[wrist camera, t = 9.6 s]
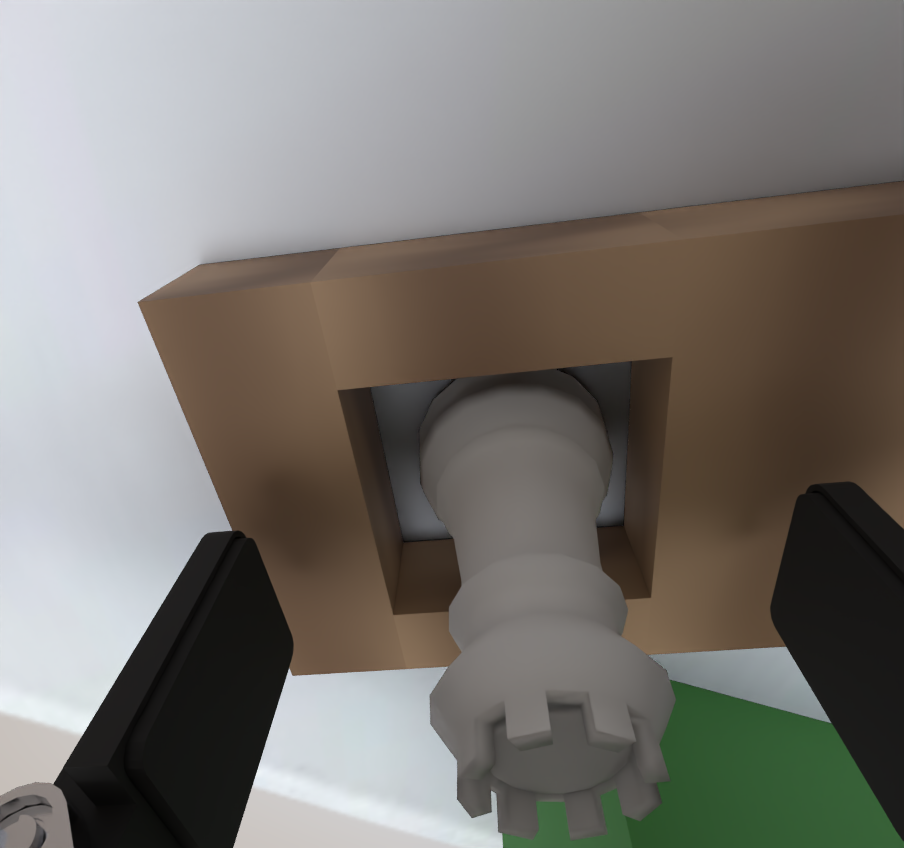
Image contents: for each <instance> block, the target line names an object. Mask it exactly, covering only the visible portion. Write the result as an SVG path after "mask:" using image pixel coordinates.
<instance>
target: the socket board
mask: <svg viewBox="0 0 904 848" xmlns="http://www.w3.org/2000/svg"><path fill="white" fill-rule="evenodd" d="M138 304H139V307H140V309H141V311H142V314H143V316H144V319H145V321H146V324H147V326H148V328H149V331H150V333H151V336H152V338H153V340H154V343H155V345H156V348H157V350H158V352H159V355H160V357H161V360H162V362H163V364H164V367H165V369H166V372H167V374H168V377H169V379H170V381H171V384H172V386H173V389H174V391H175V393H176V396H177V398H178V401H179V403H180V405H181V408H182V410H183V413H184V415H185V417H186V420H187V422H188V425H189V427H190V430H191V432H192V434H193V437H194V439H195V442H196V444H197V446H198V449H199V451H200V454H201V456H202V458H203V461H204V463H205V466H206V468H207V470H208V473H209V475H210V478H211V480H212V483H213V485H214V487H215V490H216V492H217V495H218V497H219V499H220V502H221V504H222V507H223V509H224V511H225V514H226V516H227V519H228V521H229V523H230V526H231V528H232V531H237V530H238V531H242V532H243V533H244V534H245V536H246V538H252V539H254V541H255V543H256V545H257V547H258V550H259V552H260V555H261V557H262V560H263V563H264V565H265V568H266V570H267V573H268V575H269V578H270V580H271V583H272V585H273V588H274V591H275V593H276V596H277V598H278V601H279V603H280V606H281V608H282V611H283V613H284V616H285V619H286V621H287V624H288V626H289V629H290V631H291V634H292V637H293V643H294V650H293V656H292V660H291V663H290V666H289V668H290V670H291V673H292V675H293V676H296V675H313V674H330V673H347V672H364V671H381V670H397V669H414V668H431V667H448V666H450V665H451V664H452V662H453V661H454V660H455V659H456V658H457V657H458V656H459V655H460V654H461V653H462V652H461V650H460V649H459V647H458V645H457V644H456V642H455V640H454V639H453V637H452V635H451V634H450V632H449V606H450V605H451V603H452V601H453V600H454V598H455V596H456V595H457V593H458V591H459V590H460V588H461V586H462V581H461V576H460V570H459V565H458V559H457V553H456V548H455V542H454V539H444V540H431V541H418V542H405V543H403V539H402V534H401V529H400V525H399V520H398V515H397V511H396V506H395V501H394V497H393V492H392V487H391V483H390V478H389V473H388V469H387V464H386V460H385V455H384V450H383V446H382V441H381V436H380V432H379V427H378V422H377V418H376V413H375V408H374V404H373V399H372V394H371V390H370V387H375V386H385V385H395V384H406V383H416V382H426V381H436V380H446V379H456V378H466V377H476V376H486V375H496V374H506V373H516V372H527V371H537V370H547V369H557V368H567V367H577V366H587V365H597V364H607V363H617V362H627V361H632V368H631V388H630V408H629V428H628V449H627V469H626V489H625V509H624V526H614V527H601V528H597V537H598V546H599V555H600V564H601V567H602V570H603V572H604V573H605V574H606V575H608V576H609V577H610V578H611V579H612V580H613V581H614V582H616V583H617V584H618V585H619V586H620V588H621V591H622V594H623V596H624V599H625V602H626V605H627V607H628V613H627V618H626V622H625V626H624V630H623V634H622V635H621V637H623V638H625V639H626V640H628V641H629V642H631V643H632V644H634V645H635V646H637V647H638V648H639V649H641V650H642V651H643V652H644V653H645V654H647V655H651V654H668V653H685V652H702V651H719V650H736V649H753V648H770V647H786V645H785V644H784V642H783V640H782V639H781V637H780V635H779V634H778V632H777V630H776V628H775V626H774V624H773V621H772V618H771V614H770V605H771V600H772V596H773V592H774V588H775V584H776V580H777V576H778V572H779V568H780V564H781V560H782V556H783V551H784V547H785V543H786V539H787V535H788V531H789V527H790V523H791V519H792V515H793V511H794V507H795V503H796V500H797V497H798V496H799V495H800V494H805V493H806V491H807V488H808V487H809V486H810V485H813V484H821V483H833V482H846V481H850V482H854V483H855V484H857V485H858V486H860V487H861V488H862V489H863V490H864V491H865V492H866V493H867V494H868V495H869V496H870V497H871V498H872V499H873V500H874V501H875V502H876V503H877V504H878V505H879V506H880V507H881V508H882V509H883V510H884V511H885V512H887V513H888V514H889V515H890V516H891V517H892V518H893V519H894V520H895V521H896V522H897V523H898V524H899V525H900V526H901V527H902V528H903V529H904V181H899V182H891V183H883V184H874V185H866V186H857V187H849V188H841V189H832V190H824V191H816V192H807V193H799V194H790V195H782V196H774V197H765V198H757V199H748V200H740V201H732V202H723V203H715V204H706V205H698V206H690V207H681V208H673V209H664V210H656V211H648V212H639V213H631V214H623V215H614V216H606V217H597V218H589V219H581V220H572V221H564V222H555V223H547V224H539V225H530V226H522V227H513V228H505V229H497V230H488V231H480V232H472V233H463V234H455V235H446V236H438V237H430V238H421V239H413V240H404V241H396V242H388V243H379V244H371V245H362V246H354V247H346V248H337V249H329V250H320V251H312V252H304V253H295V254H287V255H279V256H270V257H262V258H253V259H245V260H237V261H228V262H220V263H211V264H203V265H198V266H197V267H195V268H193V269H192V270H190V271H188V272H187V273H185V274H184V275H182V276H180V277H179V278H177V279H175V280H174V281H172V282H170V283H169V284H167V285H165V286H164V287H162V288H160V289H159V290H157V291H155V292H154V293H152V294H150V295H149V296H147V297H145V298H144V299H142V300H140V301H139V302H138Z"/></svg>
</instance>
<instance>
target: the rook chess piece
mask: <svg viewBox="0 0 904 848" xmlns="http://www.w3.org/2000/svg"><path fill="white" fill-rule="evenodd" d="M419 450H420V451H419V456H420V483H421V486H422V489H423V491H424V494H425V495H426V497H427V499H428V501H429V503H430V505H431V507H432V508H433V510H434V512H435V514H436V516H437V518H438V519H439V520H440V521H442V522H443V523H444V525H445V527H446V529H447V531H448V533H449V534H450V535H451V536H452V537H454V542H455V548H456V553H457V559H458V565H459V570H460V576H461V581H462V586H461V588H460V590H459V591H458V593H457V595H456V596H455V598H454V600H453V601H452V603H451V605H450V606H449V632H450V634H451V635H452V637H453V639H454V640H455V642H456V644H457V645H458V647H459V649H460V650H461V652H462V653H461V654H460V655H459V656H458V657H457V658H456V659H455V660H454V661H453V662H452V664H451V665H450V666H449V667H448V668H447V670H446V671H445V673H444V674H443V676H442V677H441V679H440V680H439V682H438V684H437V685H436V687H435V688H434V690H433V691H432V693H431V694H430V724H431V725H432V727H433V728H434V730H435V731H436V732H437V734H438V735H439V736H440V738H441V739H442V741H443V742H444V743H445V745H446V746H447V748H448V749H449V750H450V752H451V753H452V754H453V756H454V757H455V758H456V760H457V800H458V801H459V802H460V803H461V805H462V806H463V807H464V809H465V810H466V811H467V812H468V814H469V815H470V816H471V818H474V817H477V816H481V815H484V814H487V813H490V812H492V809H491V791H493V792H495V793H496V794H497V814H498V832H500V833H504V834H508V835H513V836H517V837H522V838H526V839H531V840H533V839H534V837H535V835H536V834H537V832H538V830H539V826H538V816H537V807H536V801H540V802H565V808H566V815H567V822H568V828H569V834H570V840H571V841H572V840H578V839H584V838H589V837H595V836H601V835H607V834H608V833H607V828H606V822H605V817H604V812H603V807H602V802H601V797H600V795H602V794H605V793H607V792H609V791H611V790H614V789H616V788H617V792H618V796H619V801H620V805H621V809H622V814H623V815H625V816H628V817H630V818H633V819H635V820H638V821H641V820H642V819H643V818H645V817H646V816H647V815H648V814H650V813H651V812H652V811H653V810H654V809H656V808H657V807H658V806H659V805H660V804H662V800H661V797H660V793H659V790H658V786H657V783H656V782H668V781H670V778H669V774H668V771H667V768H666V765H665V761H664V758H663V755H662V752H661V748H660V745H659V744H660V741H661V739H662V737H663V734H664V732H665V730H666V727H667V724H668V722H669V719H670V716H671V713H672V710H673V707H674V704H675V701H676V698H675V695H674V692H673V689H672V686H671V683H670V680H669V677H668V674H667V671H666V670H665V669H664V668H663V667H662V666H660V665H659V664H658V663H657V662H655V661H654V660H653V659H652V658H650V657H649V656H648V655H647V654H645V653H644V652H643V651H642V650H641V649H639V648H638V647H637V646H635V645H634V644H632V643H631V642H629V641H628V640H626V639H625V638H623V637H621V635H622V634H623V630H624V626H625V622H626V618H627V613H628V607H627V605H626V602H625V599H624V596H623V594H622V591H621V588H620V586H619V585H618V584H617V583H616V582H614V581H613V580H612V579H611V578H610V577H609V576H608V575H606V574H605V573H604V572H603V570H602V567H601V564H600V555H599V546H598V537H597V528H596V518H597V517H598V515H599V514H600V510H601V504H602V501H603V500H604V498H605V497H606V496H607V492H608V486H609V481H610V476H611V470H612V464H613V452H612V448H611V445H610V442H609V439H608V436H607V430H606V427H605V424H604V420H603V417H602V414H601V411H600V408H599V404H598V402H597V401H596V400H595V399H594V398H593V397H592V395H591V394H590V393H589V392H588V391H587V390H586V389H585V388H584V387H583V386H582V385H581V384H580V383H579V382H578V381H577V380H576V379H575V378H574V377H573V376H570V375H568V374H565V373H563V372H560V371H558V370H555V369H547V370H537V371H527V372H516V373H506V374H496V375H486V376H476V377H466V378H457V379H456V380H455V381H454V382H453V383H451V384H450V385H449V386H448V387H447V388H446V389H445V390H444V391H442V392H441V393H440V394H439V395H438V396H437V397H436V398H435V399H433V401H432V403H431V405H430V407H429V409H428V412H427V414H426V416H425V418H424V420H423V423H422V425H421V427H420V429H419Z"/></svg>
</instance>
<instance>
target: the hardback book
mask: <svg viewBox="0 0 904 848" xmlns="http://www.w3.org/2000/svg"><path fill="white" fill-rule="evenodd" d="M670 683H671V686H672V689H673V692H674V695H675V698H676V701H675V704H674V707H673V710H672V713H671V716H670V719H669V722H668V724H667V727H666V730H665V732H664V734H663V737H662V739H661V741H660V744H659V745H660V748H661V752H662V755H663V758H664V761H665V765H666V768H667V771H668V774H669V778H670V781H668V782H656V783H657V786H658V790H659V793H660V797H661V800H662V804H660V805H659V806H658V807H657V808H656V809H654V810H653V811H652V812H651V813H650V814H648V815H647V816H646V817H645V818H643V819H642V820H641V821H638V820H635V819H633V818H630V817H628V816H625V815H623V814H622V809H621V805H620V801H619V796H618V792H617V788H616V789H614V790H611V791H609V792H607V793H605V794H602V795H600V797H601V802H602V807H603V812H604V817H605V822H606V828H607V833H608V834H607V835H601V836H595V837H589V838H584V839H578V840H572V841H571V840H570V834H569V828H568V822H567V815H566V808H565V802H540V801H536V807H537V816H538V826H539V830H538V832H537V834H536V835H535V837H534V839H533V840H531V839H526V838H522V837H517V836H513V835H508V834H504V833H502V835H503V848H904V841H903V840H902V839H901V838H900V836H899V835H898V833H897V832H896V830H895V829H894V827H893V825H892V823H891V822H890V820H889V818H888V817H887V815H886V813H885V812H884V810H883V808H882V807H881V805H880V803H879V802H878V800H877V798H876V797H875V795H874V793H873V792H872V790H871V788H870V786H869V785H868V783H867V781H866V780H865V778H864V776H863V775H862V773H861V771H860V770H859V768H858V766H857V765H856V763H855V761H854V760H853V758H852V756H851V755H850V753H849V751H848V749H847V748H846V746H845V744H844V743H843V741H842V739H841V738H840V736H839V734H838V733H837V731H836V729H835V728H834V726H833V724H831V723H828V722H824V721H820V720H816V719H813V718H809V717H805V716H802V715H798V714H794V713H791V712H787V711H783V710H779V709H776V708H772V707H768V706H765V705H761V704H757V703H754V702H750V701H746V700H743V699H739V698H735V697H731V696H728V695H724V694H720V693H717V692H713V691H709V690H706V689H702V688H698V687H694V686H691V685H687V684H683V683H680V682H676V681H672V680H670Z"/></svg>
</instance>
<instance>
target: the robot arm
mask: <svg viewBox="0 0 904 848" xmlns="http://www.w3.org/2000/svg"><path fill="white" fill-rule="evenodd" d="M770 614H771V618H772V621H773V624H774V626H775V628H776V630H777V632H778V634H779V635H780V637H781V639H782V640H783V642H784V644H785V645H786V647H787V649H788V650H789V652H790V654H791V655H792V657H793V659H794V660H795V662H796V664H797V665H798V667H799V669H800V670H801V672H802V674H803V676H804V677H805V679H806V681H807V682H808V684H809V686H810V687H811V689H812V691H813V692H814V694H815V696H816V697H817V699H818V701H819V702H820V704H821V706H822V707H823V709H824V711H825V713H826V714H827V716H828V718H829V719H830V721H831V723H832V724H833V726H834V728H835V729H836V731H837V733H838V734H839V736H840V738H841V739H842V741H843V743H844V744H845V746H846V748H847V749H848V751H849V753H850V755H851V756H852V758H853V760H854V761H855V763H856V765H857V766H858V768H859V770H860V771H861V773H862V775H863V776H864V778H865V780H866V781H867V783H868V785H869V786H870V788H871V790H872V792H873V793H874V795H875V797H876V798H877V800H878V802H879V803H880V805H881V807H882V808H883V810H884V812H885V813H886V815H887V817H888V818H889V820H890V822H891V823H892V825H893V827H894V829H895V830H896V832H897V833H898V835H899V836H900V838H901V839H902V840H903V841H904V529H903V528H902V527H901V526H900V525H899V524H898V523H897V522H896V521H895V520H894V519H893V518H892V517H891V516H890V515H889V514H888V513H887V512H885V511H884V510H883V509H882V508H881V507H880V506H879V505H878V504H877V503H876V502H875V501H874V500H873V499H872V498H871V497H870V496H869V495H868V494H867V493H866V492H865V491H864V490H863V489H862V488H861V487H860V486H858V485H857V484H855V483H854V482H850V481H846V482H833V483H821V484H813V485H810V486H809V487H808V488H807V491H806V493H805V494H800V495H799V496H798V497H797V500H796V503H795V507H794V511H793V515H792V519H791V523H790V527H789V531H788V535H787V539H786V543H785V547H784V551H783V556H782V560H781V564H780V568H779V572H778V576H777V580H776V584H775V588H774V592H773V596H772V600H771V605H770ZM293 650H294V643H293V637H292V634H291V631H290V629H289V626H288V624H287V621H286V619H285V616H284V613H283V611H282V608H281V606H280V603H279V601H278V598H277V596H276V593H275V591H274V588H273V585H272V583H271V580H270V578H269V575H268V573H267V570H266V568H265V565H264V563H263V560H262V557H261V555H260V552H259V550H258V547H257V545H256V543H255V541H254V539H252V538H246V536H245V534H244V533H243V532H242V531H238V530H237V531H224V532H212V533H207V534H205V535H204V537H203V538H202V539H201V541H200V542H199V544H198V546H197V547H196V549H195V551H194V552H193V554H192V556H191V557H190V559H189V561H188V562H187V564H186V566H185V567H184V569H183V570H182V572H181V574H180V575H179V577H178V579H177V580H176V582H175V584H174V585H173V587H172V589H171V590H170V592H169V594H168V595H167V597H166V599H165V600H164V602H163V603H162V605H161V607H160V608H159V610H158V612H157V613H156V615H155V617H154V618H153V620H152V622H151V623H150V625H149V627H148V628H147V630H146V632H145V633H144V635H143V636H142V638H141V640H140V641H139V643H138V645H137V646H136V648H135V650H134V651H133V653H132V655H131V656H130V658H129V660H128V661H127V663H126V665H125V666H124V668H123V669H122V671H121V673H120V674H119V676H118V678H117V679H116V681H115V683H114V684H113V686H112V688H111V689H110V691H109V693H108V694H107V696H106V698H105V699H104V701H103V703H102V704H101V706H100V707H99V709H98V711H97V712H96V714H95V716H94V717H93V719H92V721H91V722H90V724H89V726H88V727H87V729H86V731H85V732H84V734H83V736H82V737H81V739H80V741H79V742H78V744H77V746H76V747H75V749H74V751H73V752H72V754H71V755H70V757H69V759H68V760H67V762H66V764H65V765H64V767H63V769H62V771H61V772H60V774H59V776H58V777H57V779H56V781H55V782H54V784H51V783H39V782H35V783H32V784H27V785H24V786H20V787H17V788H15V789H13V790H11V791H9V792H7V793H5V794H3V795H1V796H0V848H233V846H234V843H235V840H236V837H237V833H238V830H239V827H240V824H241V820H242V817H243V814H244V811H245V808H246V804H247V801H248V798H249V794H250V792H251V788H252V785H253V782H254V779H255V776H256V772H257V769H258V766H259V763H260V760H261V756H262V753H263V750H264V747H265V744H266V740H267V737H268V734H269V731H270V727H271V724H272V721H273V718H274V715H275V711H276V708H277V705H278V702H279V699H280V695H281V692H282V689H283V686H284V683H285V679H286V676H287V673H288V670H289V666H290V663H291V660H292V656H293Z"/></svg>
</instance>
